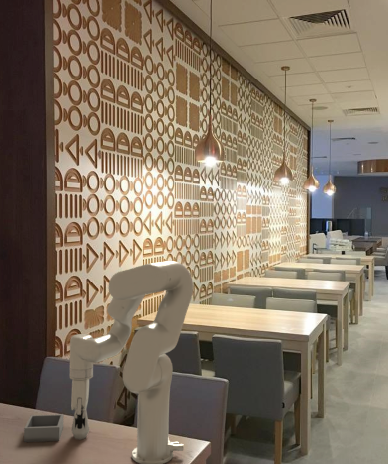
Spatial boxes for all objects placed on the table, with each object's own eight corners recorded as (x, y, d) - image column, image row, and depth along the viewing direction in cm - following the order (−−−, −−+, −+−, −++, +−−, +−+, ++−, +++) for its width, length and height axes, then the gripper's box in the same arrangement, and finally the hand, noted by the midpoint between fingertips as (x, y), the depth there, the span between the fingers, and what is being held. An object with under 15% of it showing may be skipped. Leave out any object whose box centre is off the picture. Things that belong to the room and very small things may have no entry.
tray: (63, 427, 176) (63, 414, 176) (59, 440, 165) (59, 427, 165) (30, 428, 175) (30, 415, 175) (24, 442, 164) (24, 428, 164)
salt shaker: (90, 433, 172) (91, 394, 171) (87, 440, 166) (88, 401, 166) (73, 433, 172) (73, 394, 171) (69, 440, 166) (70, 400, 166)
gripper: (72, 365, 176) (71, 418, 176) (66, 380, 160) (65, 438, 160) (94, 365, 177) (93, 417, 177) (91, 379, 161) (90, 437, 161)
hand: (80, 427), depth 169 cm, fingers closed on salt shaker, 3 cm apart
